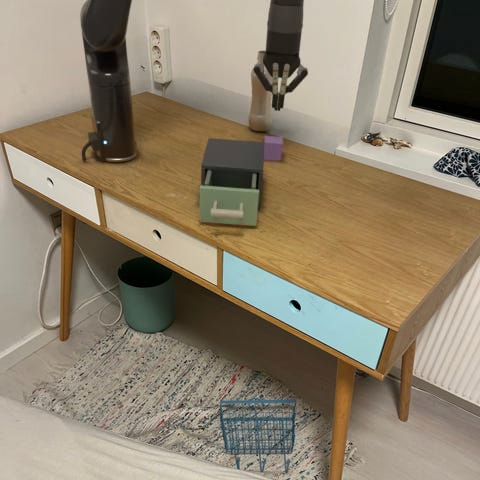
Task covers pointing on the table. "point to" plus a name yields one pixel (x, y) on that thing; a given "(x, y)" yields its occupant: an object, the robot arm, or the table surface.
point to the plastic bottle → (260, 101)
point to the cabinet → (234, 158)
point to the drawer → (229, 198)
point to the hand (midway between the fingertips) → (277, 109)
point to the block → (273, 148)
